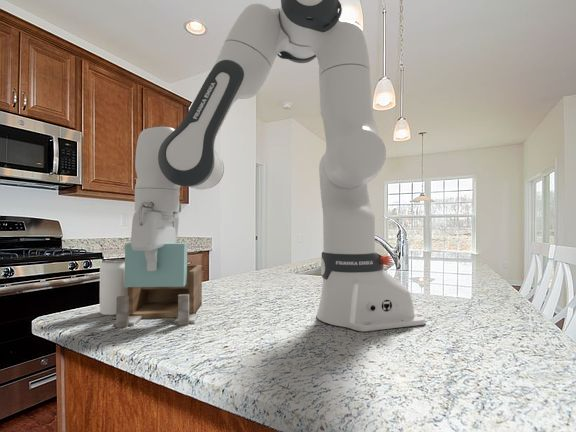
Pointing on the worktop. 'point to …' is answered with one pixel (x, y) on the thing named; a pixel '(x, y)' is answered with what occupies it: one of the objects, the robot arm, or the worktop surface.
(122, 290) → the can
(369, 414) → the worktop surface
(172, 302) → the cabinet
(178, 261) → the door
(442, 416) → the worktop surface
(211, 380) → the worktop surface
